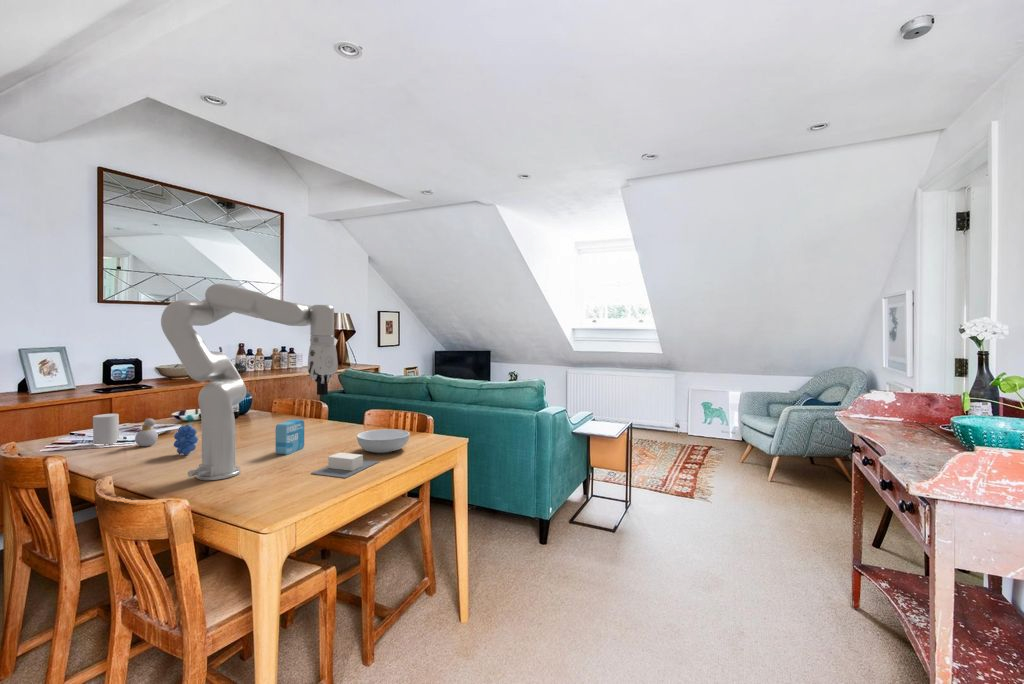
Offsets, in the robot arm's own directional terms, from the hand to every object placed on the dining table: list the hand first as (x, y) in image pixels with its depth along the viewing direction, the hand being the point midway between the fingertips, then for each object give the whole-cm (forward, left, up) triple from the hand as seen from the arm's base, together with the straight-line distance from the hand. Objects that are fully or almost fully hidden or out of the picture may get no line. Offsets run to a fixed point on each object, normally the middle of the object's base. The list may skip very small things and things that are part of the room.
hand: (322, 394), depth 159 cm
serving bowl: (+33, -3, -27) cm, 43 cm away
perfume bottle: (+6, +91, -27) cm, 95 cm away
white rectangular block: (+4, -4, -25) cm, 25 cm away
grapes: (+2, +64, -27) cm, 70 cm away
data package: (+19, +31, -27) cm, 46 cm away
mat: (+8, -4, -27) cm, 29 cm away
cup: (+3, +111, -27) cm, 114 cm away
